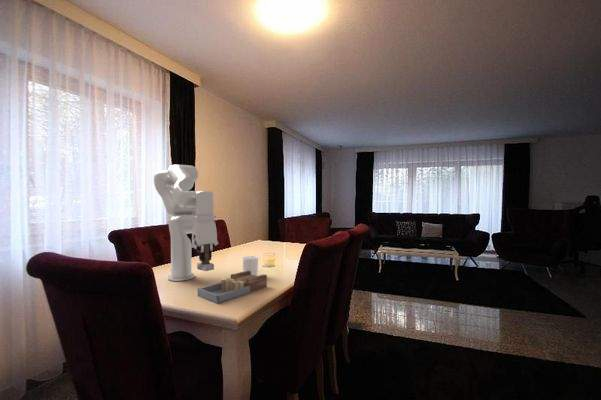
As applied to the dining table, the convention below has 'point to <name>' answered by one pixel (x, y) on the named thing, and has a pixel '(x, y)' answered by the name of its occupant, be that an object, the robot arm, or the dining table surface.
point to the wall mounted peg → (205, 264)
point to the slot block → (251, 280)
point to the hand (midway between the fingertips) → (205, 260)
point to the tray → (221, 293)
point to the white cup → (250, 264)
